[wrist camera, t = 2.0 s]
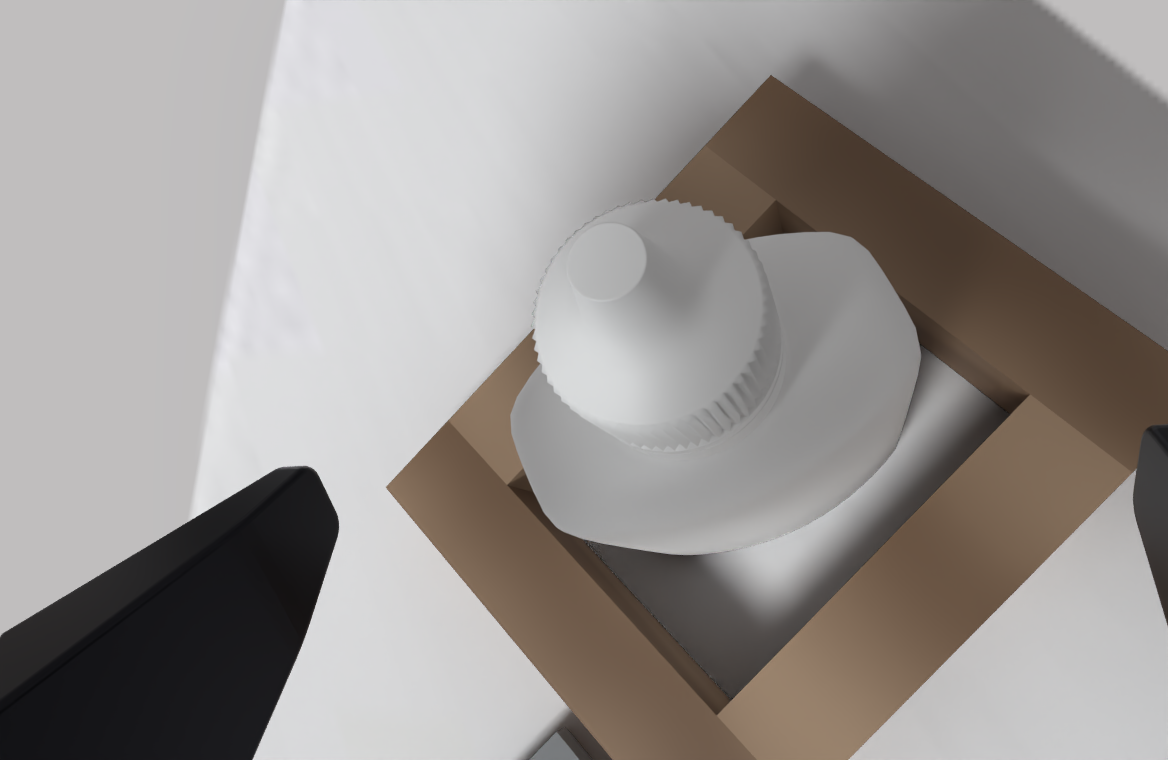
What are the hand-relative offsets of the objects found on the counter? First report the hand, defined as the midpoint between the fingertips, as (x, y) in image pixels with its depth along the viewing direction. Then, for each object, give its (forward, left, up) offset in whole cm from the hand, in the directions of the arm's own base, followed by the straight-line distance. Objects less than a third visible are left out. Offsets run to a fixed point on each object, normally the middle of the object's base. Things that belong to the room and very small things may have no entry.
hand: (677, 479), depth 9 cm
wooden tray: (+1, +1, -9) cm, 9 cm away
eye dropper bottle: (+1, +1, -9) cm, 10 cm away
